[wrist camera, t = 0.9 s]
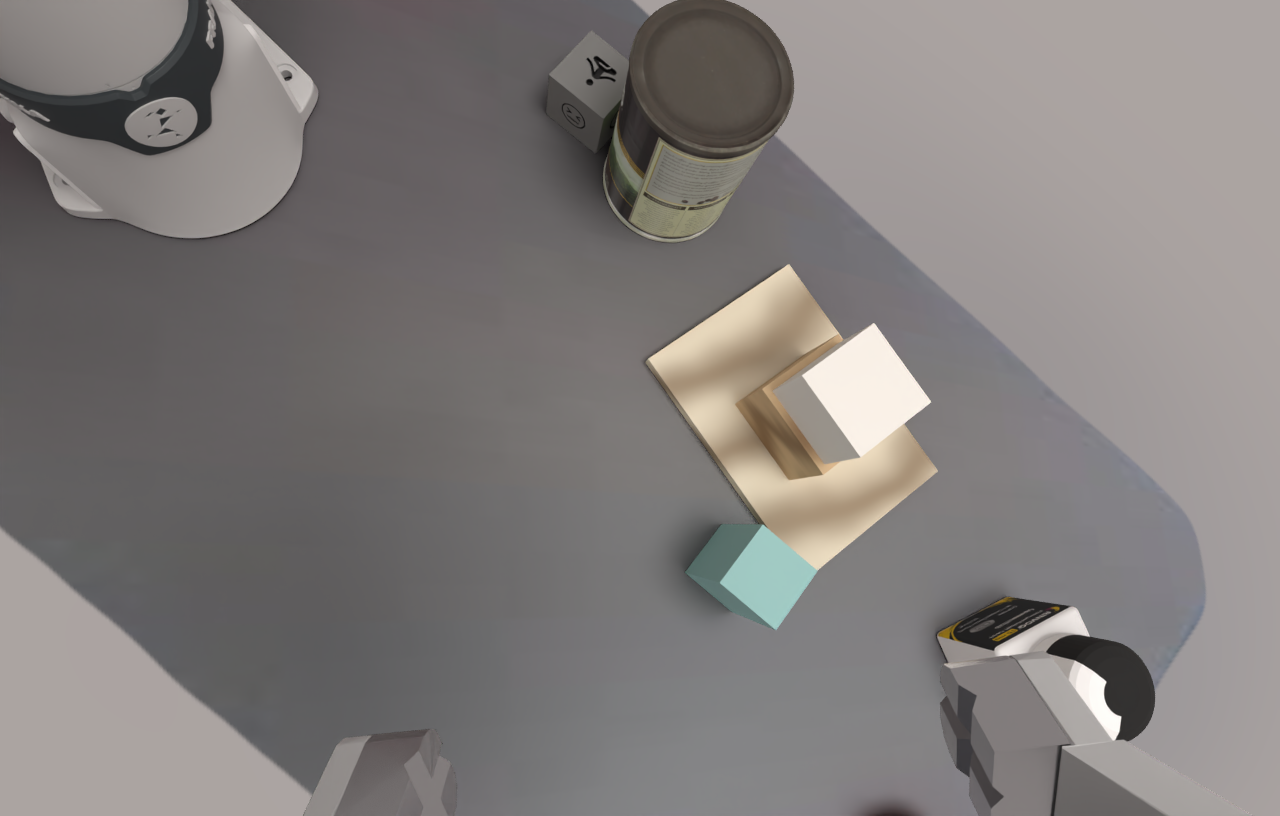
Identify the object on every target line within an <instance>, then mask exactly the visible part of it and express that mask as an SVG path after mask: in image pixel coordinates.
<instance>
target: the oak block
mask: <svg viewBox="0 0 1280 816" xmlns="http://www.w3.org/2000/svg"><path fill="white" fill-rule="evenodd" d="M841 341H843V339H842V338H841V336H840V335H839V334H838V335H836V336H834V337H833V338H831V339H829V340H828V341H826V342H824V343H823V344H821V345H819V346H817V347H816V348H814V349H812V350H811V351H809V352H807V353H806V354H804V355H803V356H801V357H800V358H798V359H797V360H796V361H794V362H793V363H791V364H790V365H789V366H787V367H786V368H784V369H783V370H782V371H780V372H779V373H778V374H776V375H775V376H773V377H772V378H771V379H769V380H768V381H766V382H765V383H764V384H762V385H761V386H759V387H758V388H757V389H755V390H754V391H752V392H751V393H750V394H748V395H747V396H746V397H744V398H743V399H741V400H740V401H739V402H737V403H736V404H735V405H736V407H737V408H738V409H739V411H740V412H741V414H742V415H743V416H744V418H745V419H746V421H747V422H748V423H749V425H750V426H751V428H752V429H753V430H754V432H755V433H756V435H757V436H758V437H759V439H760V440H761V442H762V443H763V445H764V446H765V447H766V449H767V450H768V452H769V453H770V454H771V456H772V457H773V459H774V460H775V461H776V463H777V464H778V466H779V467H780V468H781V470H782V471H783V473H784V474H785V476H786V477H787V478H788V480H795V479H801V478H807V477H813V476H820V475H824V474H825V473H826V472H828V471H829V470H830V469H832V468H833V467H834V466H835V465H837V464H838V463H839V462H835V463H829V464H824V463H823V462H822V460H821V459H820V457H819V456H818V455H817V453H816V452H815V450H814V449H813V448H812V446H811V445H810V443H809V442H808V441H807V439H806V438H805V436H804V435H803V434H802V432H801V431H800V429H799V428H798V427H797V425H796V424H795V422H794V421H793V420H792V418H791V417H790V415H789V414H788V413H787V411H786V410H785V408H784V407H783V406H782V404H781V403H780V401H779V400H778V399H777V397H776V396H775V394H774V393H773V392H772V391H773V390H774V389H776V388H777V387H778V386H780V385H781V384H783V383H784V382H785V381H787V380H788V379H789V378H791V377H792V376H794V375H795V374H796V373H798V372H799V371H801V370H802V369H803V368H805V367H806V366H807V365H809V364H810V363H812V362H813V361H814V360H816V359H817V358H818V357H820V356H821V355H823V354H824V353H825V352H827V351H828V350H830V349H831V348H832V347H834V346H835V345H836V344H838V343H840V342H841ZM840 462H841V461H840Z"/></svg>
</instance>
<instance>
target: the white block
mask: <svg viewBox="0 0 1280 816" xmlns="http://www.w3.org/2000/svg"><path fill="white" fill-rule="evenodd" d="M772 392H773V393H774V394H775V396H776V397H777V399H778V400H779V401H780V403H781V404H782V406H783V407H784V408H785V410H786V411H787V413H788V414H789V415H790V417H791V418H792V420H793V421H794V422H795V424H796V425H797V427H798V428H799V429H800V431H801V432H802V434H803V435H804V436H805V438H806V439H807V441H808V442H809V443H810V445H811V446H812V448H813V449H814V450H815V452H816V453H817V455H818V456H819V457H820V459H821V460H822V462H823V463H824V464H829V463H835V462H840V461H845V460H850V459H855V458H860V457H862V456H863V455H864V454H866V453H867V452H868V451H869V450H871V449H872V448H873V447H875V446H876V445H877V444H878V443H880V442H881V441H882V440H883V439H885V438H886V437H887V436H889V435H890V434H891V433H892V432H894V431H895V430H896V429H897V428H899V427H900V426H901V425H903V424H904V423H905V422H906V421H908V420H909V419H910V418H911V417H913V416H914V415H915V414H917V413H918V412H919V411H920V410H922V409H923V408H924V407H925V406H927V405H928V404H929V403H931V401H930V400H929V398H928V397H927V396H926V394H925V393H924V391H923V390H922V389H921V387H920V386H919V385H918V383H917V382H916V380H915V379H914V378H913V376H912V375H911V374H910V372H909V371H908V369H907V368H906V367H905V365H904V364H903V362H902V361H901V360H900V358H899V357H898V356H897V354H896V353H895V351H894V350H893V349H892V347H891V346H890V344H889V343H888V342H887V340H886V339H885V338H884V336H883V335H882V333H881V332H880V331H879V329H878V328H877V326H876V325H875V324H874V323H873V324H871V325H870V326H868V327H866V328H864V329H863V330H861V331H859V332H857V333H856V334H854V335H852V336H850V337H848V338H847V339H845V340H843V341H841V342H840V343H838V344H836V345H835V346H834V347H832V348H831V349H830V350H828V351H827V352H825V353H824V354H823V355H821V356H820V357H818V358H817V359H816V360H814V361H813V362H812V363H810V364H809V365H807V366H806V367H805V368H803V369H802V370H801V371H799V372H798V373H796V374H795V375H794V376H792V377H791V378H789V379H788V380H787V381H785V382H784V383H783V384H781V385H780V386H778V387H777V388H776V389H774V390H773V391H772Z"/></svg>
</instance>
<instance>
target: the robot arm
mask: <svg viewBox="0 0 1280 816" xmlns="http://www.w3.org/2000/svg"><path fill="white" fill-rule="evenodd" d="M286 77H292V79H291V80H289V81H285V80H284V78H286ZM0 97H2V98H0V112H1V114H2V115H3V116H4V117H5V119H6V120H8V121H9V122H11V123H14V124H15V126H16V128H15V129H14V131H13V133H14V135H15V137H16V138H17V139H18V140H19V141H20V143H21V144H22V145H24V146H25V147H26V148H27V149H28V150H29V151H30V152H31V153H33V154H34V155H35V156H36V157H37V158H38V159H40V162H41V164H42V167H43V169H44V172H45V175H46V177H47V180H48V182H49V185H50V188H51V190H52V193H53V195H54V198H55V200H56V202H57V203H58V204H59V205H60V206H61V207H62V208H63V209H64V210H65V211H66V212H68V213H69V214H71V215H74V216H77V217H82V218H95V219H117V220H121V221H124V222H127V223H129V224H132V225H134V226H137V227H139V228H142V229H144V230H147V231H150V232H153V233H156V234H160V235H165V236H170V237H177V238H204V237H212V236H217V235H222V234H226V233H229V232H232V231H235V230H238V229H240V228H243V227H245V226H247V225H249V224H251V223H253V222H254V221H256V220H258V219H259V218H261V217H262V216H264V215H265V214H266V213H267V212H269V211H270V210H271V209H272V208H273V207H274V206H275V205H276V204H277V203H278V202H279V201H280V200H281V199H282V198H283V197H284V195H285V194H286V193H287V191H288V190H289V188H290V187H291V185H292V183H293V181H294V179H295V177H296V175H297V172H298V169H299V166H300V162H301V157H302V146H303V130H304V126H305V123H306V121H307V119H308V118H309V116H310V114H311V112H312V111H313V109H314V107H315V104H316V102H317V99H318V89H317V87H316V85H315V84H314V82H313V81H312V79H311V78H310V77H309V75H308V74H306V73H305V72H304V71H303V70H302V69H301V68H300V67H299V66H298V65H297V64H296V63H295V62H294V61H293V60H292V59H291V58H290V57H289V56H288V55H287V54H286V53H285V52H284V51H283V50H282V49H281V48H280V47H279V46H277V45H276V44H275V43H274V42H273V41H272V40H271V39H270V38H269V37H268V36H267V35H266V34H265V33H264V32H263V31H262V30H261V29H260V28H259V27H258V26H257V25H256V24H255V23H254V22H253V21H252V20H251V19H250V18H249V17H247V16H246V15H245V14H244V13H243V12H242V11H241V10H240V9H239V8H238V7H237V6H236V5H235V4H234V3H233V2H232V1H231V0H0ZM68 185H69V186H68ZM940 683H941V685H942V687H943V689H944V691H945V693H946V695H947V696H946V697H945V698H944V699H943V700H942V702H941V703H940V718H941V724H942V729H943V734H944V738H945V741H946V744H947V747H948V750H949V753H950V755H951V757H952V759H953V762H954V764H955V766H956V768H957V769H958V770H960V771H961V772H962V773H964V774H965V775H967V776H968V777H969V778H970V782H969V796H970V799H971V801H972V803H973V805H974V807H975V809H976V811H977V813H978V815H979V816H1253V815H1251V814H1250V813H1248V812H1246V811H1244V810H1243V809H1241V808H1239V807H1238V806H1236V805H1234V804H1233V803H1231V802H1229V801H1227V800H1226V799H1224V798H1222V797H1221V796H1219V795H1217V794H1215V793H1214V792H1212V791H1210V790H1208V789H1207V788H1205V787H1204V786H1202V785H1200V784H1198V783H1197V782H1195V781H1193V780H1192V779H1190V778H1188V777H1186V776H1185V775H1183V774H1181V773H1180V772H1178V771H1176V770H1175V769H1173V768H1171V767H1169V766H1168V765H1166V764H1164V763H1162V762H1161V761H1159V760H1157V759H1156V758H1154V757H1152V756H1151V755H1149V754H1147V753H1146V752H1144V751H1142V750H1140V749H1138V748H1137V747H1135V746H1134V745H1132V744H1130V743H1129V742H1127V741H1125V740H1112V739H1111V737H1110V736H1109V735H1108V733H1107V732H1106V731H1105V729H1104V728H1103V726H1102V725H1101V724H1100V722H1099V721H1098V720H1097V718H1096V717H1095V716H1094V714H1093V713H1092V711H1091V710H1090V709H1089V707H1088V706H1087V705H1086V703H1085V702H1084V700H1083V699H1082V698H1081V696H1080V695H1079V694H1078V692H1077V691H1076V690H1075V688H1074V687H1073V685H1072V684H1071V683H1070V681H1069V680H1068V679H1067V677H1066V676H1065V675H1064V673H1063V672H1062V670H1061V669H1060V668H1059V666H1058V665H1057V664H1056V662H1055V661H1054V659H1053V658H1052V657H1051V655H1049V654H1048V653H1046V652H1045V651H1038V652H1031V653H1023V654H1015V655H1010V656H1006V655H1005V656H998V657H990V658H983V659H976V660H969V661H961V662H954V663H947V664H943V665H942V668H941V671H940ZM442 744H443V743H442V741H441V739H440V737H439V735H438V733H437V731H436V730H435V729H425V730H415V731H405V732H394V733H384V734H374V735H368V736H358V737H348V738H344V739H343V740H342V741H341V742H340V743H339V744H338V745H337V746H336V747H335V749H334V751H333V753H332V755H331V757H330V759H329V761H328V764H327V766H326V768H325V770H324V772H323V774H322V776H321V778H320V780H319V783H318V785H317V787H316V789H315V791H314V793H313V795H312V797H311V799H310V802H309V804H308V806H307V808H306V810H305V812H304V814H303V816H454V815H455V810H456V803H457V783H456V777H455V772H454V770H453V767H452V765H451V762H449V761H448V760H446V759H445V758H443V757H442V756H440V755H439V754H440V751H441V747H442Z"/></svg>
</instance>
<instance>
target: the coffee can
mask: <svg viewBox="0 0 1280 816" xmlns="http://www.w3.org/2000/svg"><path fill="white" fill-rule="evenodd" d="M793 94H794V78H793V71H792V67H791V63H790V60H789V57H788V55H787V53H786V50H785V48H784V46H783V44H782V43H781V41H780V40H779V38H778V37H777V36H776V34H775V33H774V32H773V30H772V29H771V28H770V27H769V26H768V25H767V24H766V23H764V22H763V21H762V20H761V19H760V18H758V17H757V16H756V15H754V14H753V13H751V12H750V11H748V10H747V9H745V8H743V7H741V6H739V5H737V4H735V3H732V2H728V1H726V0H677V1H674V2H672V3H670V4H667V5H665V6H663V7H662V8H660V9H659V10H658V11H656V12H654V13H653V14H652V15H651V16H650V17H649V18H648V19H647V20H646V21H645V22H644V24H643V25H642V26H641V28H640V29H639V31H638V32H637V34H636V37H635V39H634V42H633V45H632V48H631V53H630V58H629V69H628V73H627V78H626V82H625V86H624V89H623V94H622V98H621V103H620V107H619V112H618V116H617V120H616V124H615V129H614V133H613V137H612V141H611V145H610V149H609V153H608V155H607V158H606V161H605V165H604V171H603V185H604V190H605V194H606V197H607V200H608V202H609V204H610V206H611V208H612V210H613V211H614V213H615V214H616V215H617V217H618V218H619V219H620V220H621V221H622V222H623V223H624V224H625V225H626V226H627V227H628V228H629V229H631V230H632V231H634V232H636V233H637V234H639V235H641V236H643V237H646V238H648V239H651V240H655V241H660V242H670V243H676V242H682V241H686V240H690V239H693V238H695V237H697V236H699V235H701V234H702V233H704V232H705V231H707V230H708V229H709V228H710V227H711V226H712V225H713V224H714V223H715V222H716V221H717V220H718V218H719V216H720V215H721V213H722V211H723V209H724V207H725V205H726V204H727V202H728V201H729V199H730V198H731V196H732V195H733V193H734V192H735V190H736V189H737V187H738V186H739V184H740V183H741V182H742V180H743V178H744V177H745V175H746V174H747V172H748V171H749V169H750V168H751V166H752V165H753V163H754V162H755V160H756V159H757V157H758V156H759V154H760V152H761V151H762V149H763V148H764V146H765V145H766V143H767V142H768V140H769V139H770V138H771V137H772V136H773V135H774V134H775V133H776V132H777V130H778V129H779V127H780V126H781V125H782V124H783V122H784V121H785V119H786V117H787V115H788V112H789V110H790V107H791V104H792V100H793Z"/></svg>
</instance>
